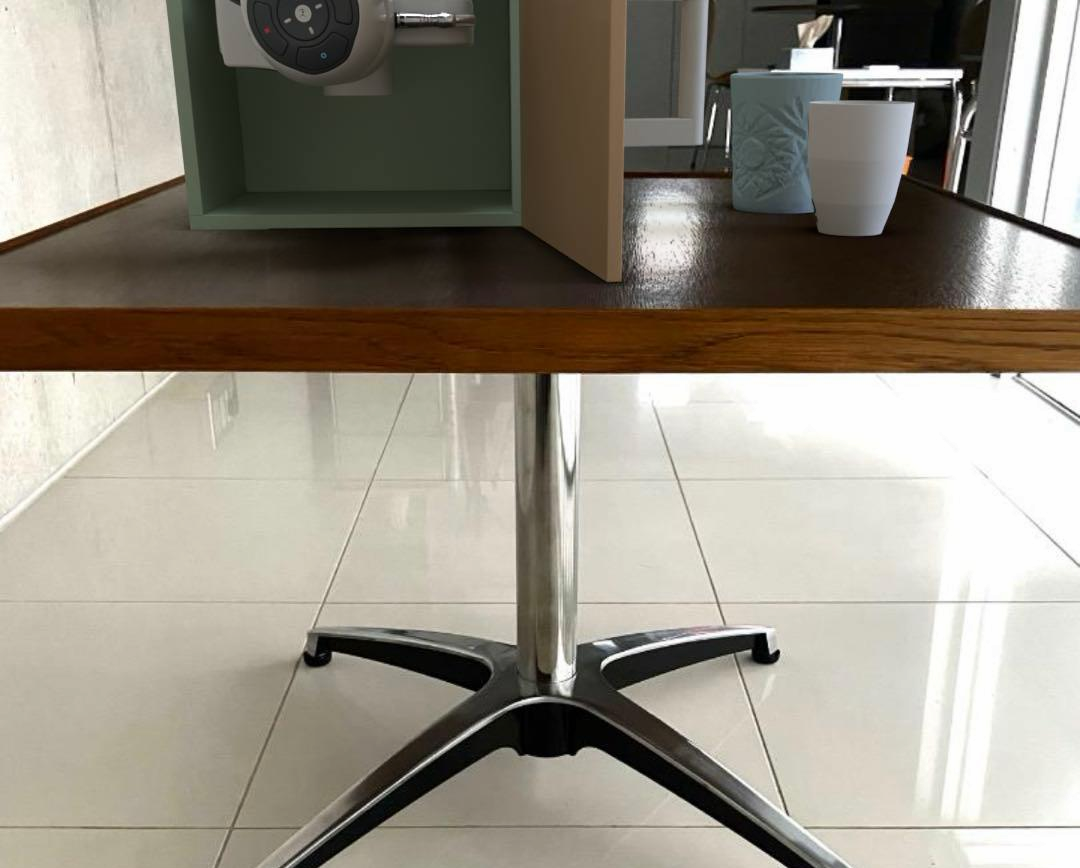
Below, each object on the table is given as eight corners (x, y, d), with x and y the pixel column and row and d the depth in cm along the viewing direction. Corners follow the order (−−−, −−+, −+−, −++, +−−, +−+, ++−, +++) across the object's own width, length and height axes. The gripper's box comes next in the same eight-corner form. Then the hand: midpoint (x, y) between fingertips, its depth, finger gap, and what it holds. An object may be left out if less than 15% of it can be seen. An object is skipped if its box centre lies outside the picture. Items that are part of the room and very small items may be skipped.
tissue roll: (345, 96, 101) (337, -39, 97) (311, 95, 105) (302, -34, 101) (407, 94, 104) (402, -36, 100) (372, 93, 108) (365, -31, 105)
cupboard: (526, 227, 104) (523, -124, 94) (190, 230, 103) (152, -124, 93) (522, 201, 122) (519, -94, 113) (237, 203, 122) (210, -93, 112)
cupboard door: (599, 224, 104) (603, -121, 95) (708, 278, 78) (730, -189, 69) (521, 226, 103) (517, -123, 93) (606, 282, 77) (613, -193, 67)
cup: (848, 223, 105) (858, 99, 101) (922, 233, 99) (937, 102, 95) (778, 230, 101) (787, 102, 97) (852, 241, 95) (864, 104, 91)
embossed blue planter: (821, 202, 120) (831, 71, 116) (842, 214, 111) (855, 73, 106) (718, 202, 120) (724, 72, 116) (730, 215, 111) (738, 73, 106)
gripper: (474, -27, 90) (478, -16, 102) (194, -26, 89) (233, -15, 102) (476, 65, 92) (479, 64, 105) (203, 67, 91) (240, 66, 104)
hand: (356, 25), depth 103 cm, fingers closed on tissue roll, 6 cm apart
